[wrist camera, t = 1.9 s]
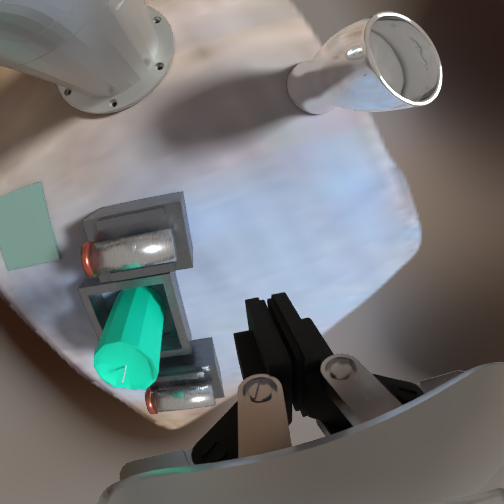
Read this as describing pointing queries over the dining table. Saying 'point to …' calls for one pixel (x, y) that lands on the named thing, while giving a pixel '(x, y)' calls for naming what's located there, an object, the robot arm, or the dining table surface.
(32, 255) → the pad
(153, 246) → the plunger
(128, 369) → the candle
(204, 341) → the housing
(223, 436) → the robot arm
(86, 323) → the dining table surface
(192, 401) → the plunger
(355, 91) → the beer glass
